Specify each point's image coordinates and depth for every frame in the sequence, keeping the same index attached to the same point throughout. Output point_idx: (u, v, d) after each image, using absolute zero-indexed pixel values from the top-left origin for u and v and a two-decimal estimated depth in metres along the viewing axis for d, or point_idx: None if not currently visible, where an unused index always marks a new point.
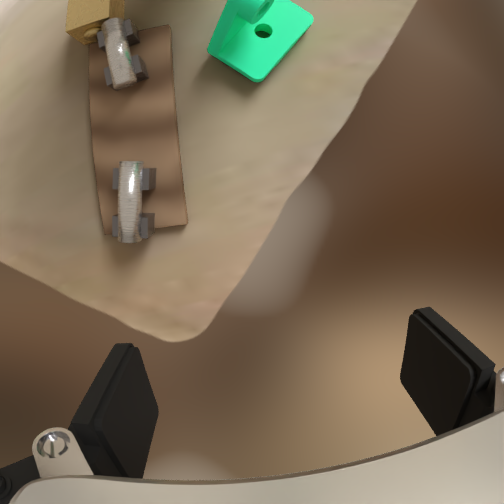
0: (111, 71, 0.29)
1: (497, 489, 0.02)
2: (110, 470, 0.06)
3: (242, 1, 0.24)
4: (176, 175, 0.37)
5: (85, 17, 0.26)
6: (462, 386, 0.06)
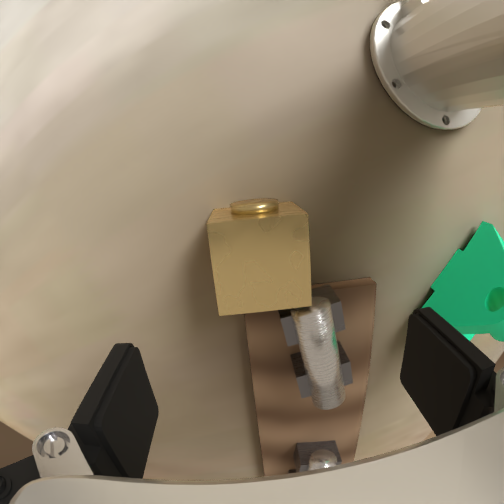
0: (316, 392, 0.23)
1: (497, 489, 0.02)
2: (110, 470, 0.06)
3: None
4: (353, 442, 0.31)
5: (261, 295, 0.20)
6: (462, 386, 0.06)
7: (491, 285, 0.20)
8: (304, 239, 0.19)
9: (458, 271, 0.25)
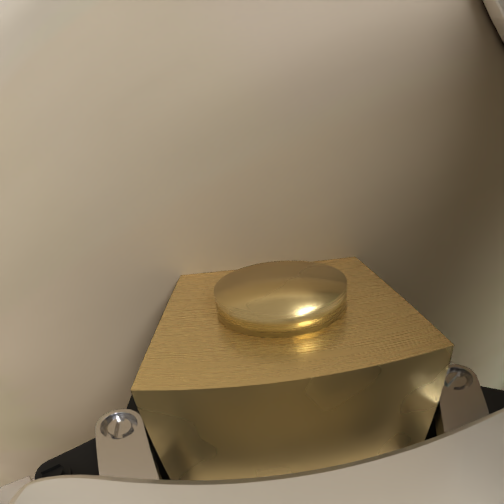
0: None
1: (497, 489, 0.02)
2: None
3: None
4: None
5: None
6: None
7: None
8: (426, 406, 0.05)
9: None
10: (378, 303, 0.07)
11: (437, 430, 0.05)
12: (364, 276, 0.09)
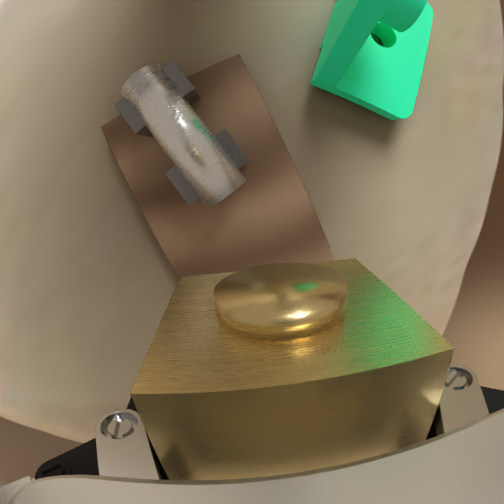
0: (191, 178, 0.17)
1: (497, 489, 0.02)
2: None
3: None
4: None
5: None
6: None
7: None
8: (426, 409, 0.05)
9: (335, 12, 0.18)
10: (378, 305, 0.07)
11: (437, 430, 0.05)
12: (364, 278, 0.09)
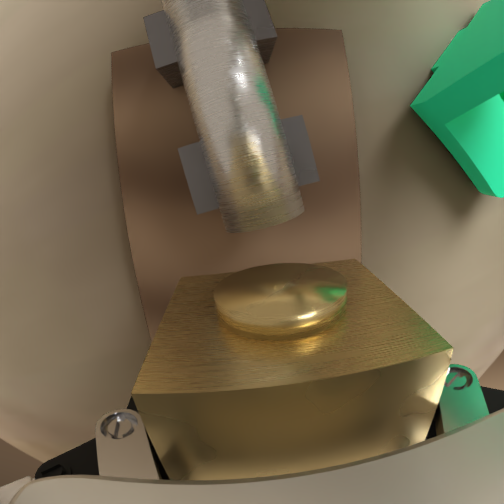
0: (220, 173, 0.10)
1: (497, 489, 0.02)
2: None
3: None
4: None
5: None
6: None
7: None
8: (426, 409, 0.05)
9: (466, 37, 0.12)
10: (378, 305, 0.07)
11: (437, 430, 0.05)
12: (364, 278, 0.09)
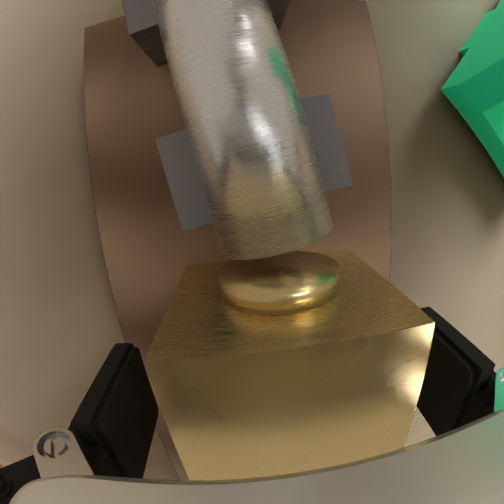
0: (213, 174, 0.07)
1: (497, 489, 0.02)
2: (110, 470, 0.06)
3: None
4: None
5: None
6: (462, 386, 0.06)
7: None
8: (413, 381, 0.06)
9: (497, 18, 0.09)
10: (368, 287, 0.08)
11: None
12: (356, 265, 0.10)
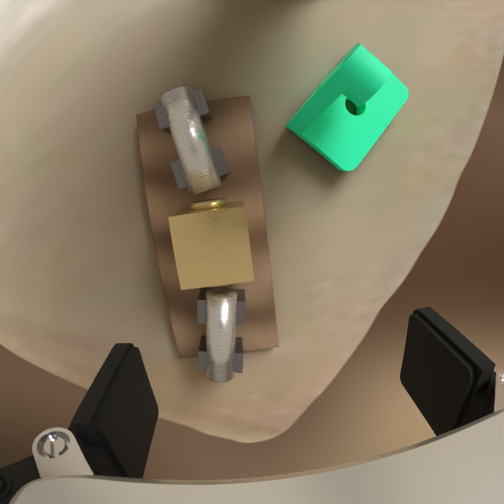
0: (186, 172, 0.25)
1: (497, 489, 0.02)
2: (110, 470, 0.06)
3: (356, 77, 0.20)
4: (268, 297, 0.33)
5: (212, 272, 0.25)
6: (462, 386, 0.06)
7: (343, 61, 0.23)
8: (243, 226, 0.25)
9: None
10: (235, 204, 0.27)
11: None
12: (239, 202, 0.28)
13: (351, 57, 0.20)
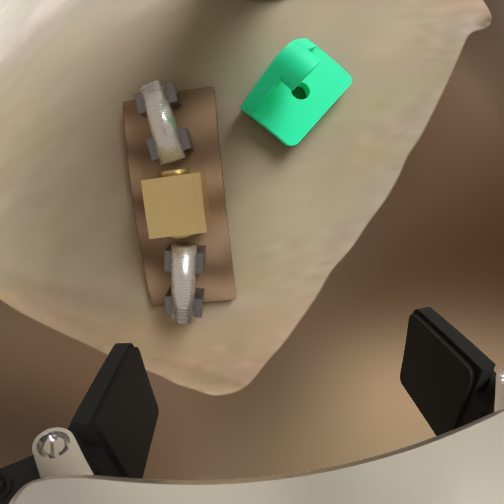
0: (157, 146, 0.31)
1: (497, 489, 0.02)
2: (110, 470, 0.06)
3: (287, 66, 0.26)
4: (226, 253, 0.39)
5: (174, 224, 0.31)
6: (462, 386, 0.06)
7: None
8: (198, 188, 0.31)
9: None
10: (195, 172, 0.32)
11: None
12: None
13: (283, 51, 0.25)
